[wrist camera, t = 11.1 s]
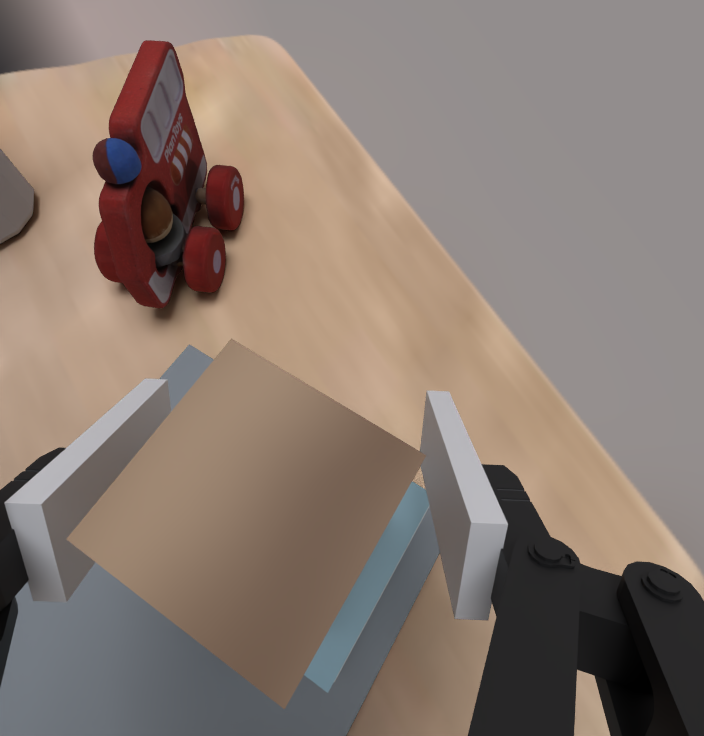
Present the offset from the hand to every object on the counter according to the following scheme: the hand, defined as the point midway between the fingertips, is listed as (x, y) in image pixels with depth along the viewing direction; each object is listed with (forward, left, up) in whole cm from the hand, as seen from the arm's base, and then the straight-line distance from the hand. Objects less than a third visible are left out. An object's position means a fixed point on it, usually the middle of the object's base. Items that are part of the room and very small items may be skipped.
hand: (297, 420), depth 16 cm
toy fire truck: (-16, +8, -11) cm, 21 cm away
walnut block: (+2, -3, -4) cm, 5 cm away
